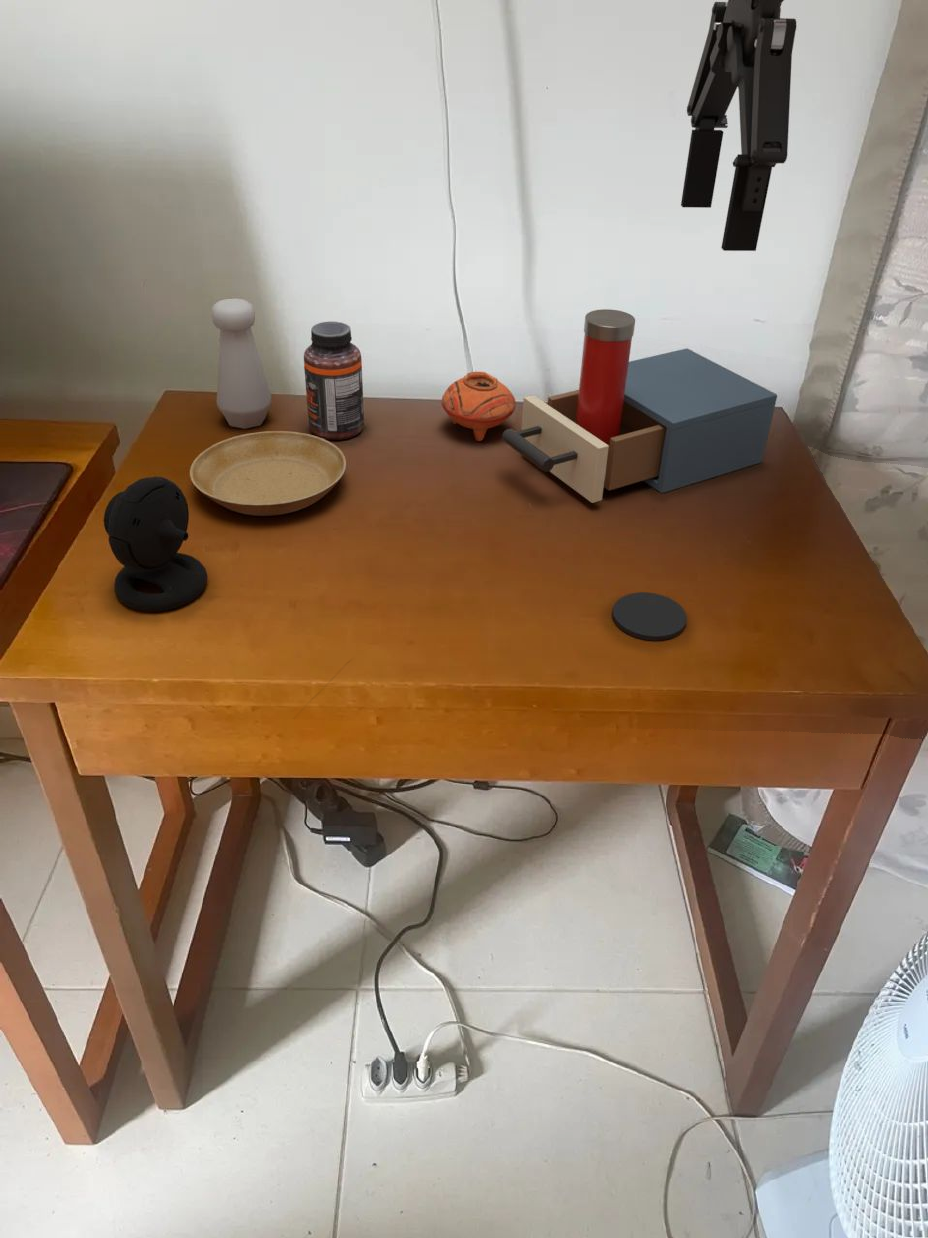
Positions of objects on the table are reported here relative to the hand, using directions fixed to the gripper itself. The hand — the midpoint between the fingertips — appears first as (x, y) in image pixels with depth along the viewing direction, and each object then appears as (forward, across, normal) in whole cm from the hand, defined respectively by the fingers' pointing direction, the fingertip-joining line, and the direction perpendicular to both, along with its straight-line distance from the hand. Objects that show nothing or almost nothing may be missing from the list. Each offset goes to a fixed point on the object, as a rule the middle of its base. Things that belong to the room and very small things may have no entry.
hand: (715, 227), depth 87 cm
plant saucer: (+24, +3, -41) cm, 48 cm away
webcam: (+24, +20, -49) cm, 58 cm away
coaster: (+24, +26, -8) cm, 36 cm away
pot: (+24, -9, -20) cm, 32 cm away
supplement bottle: (+24, -9, -35) cm, 43 cm away
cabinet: (+24, -4, 0) cm, 24 cm away
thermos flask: (+22, +1, -9) cm, 24 cm away
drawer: (+23, +1, -9) cm, 25 cm away
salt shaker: (+24, -12, -45) cm, 52 cm away
